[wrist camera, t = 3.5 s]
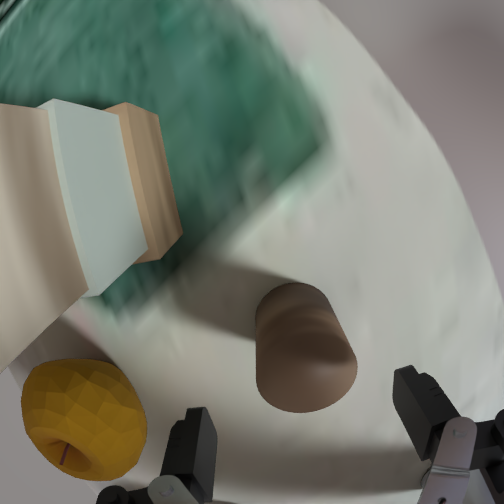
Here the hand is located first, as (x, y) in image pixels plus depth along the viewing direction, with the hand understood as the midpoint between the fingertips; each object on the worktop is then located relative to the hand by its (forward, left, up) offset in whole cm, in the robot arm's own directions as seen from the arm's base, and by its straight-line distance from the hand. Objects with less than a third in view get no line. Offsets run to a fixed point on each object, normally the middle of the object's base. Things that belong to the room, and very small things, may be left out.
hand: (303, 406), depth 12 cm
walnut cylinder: (0, 0, -8) cm, 8 cm away
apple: (+14, +3, -8) cm, 17 cm away
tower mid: (+8, -10, -3) cm, 13 cm away
